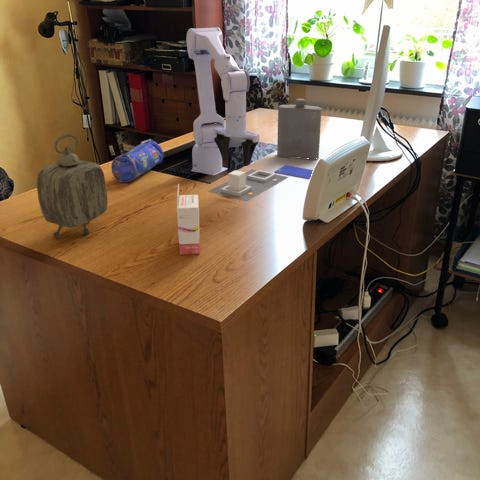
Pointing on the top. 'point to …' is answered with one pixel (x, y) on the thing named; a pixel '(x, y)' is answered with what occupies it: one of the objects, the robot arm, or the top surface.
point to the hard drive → (294, 171)
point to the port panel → (251, 185)
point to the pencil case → (137, 161)
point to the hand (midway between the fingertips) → (236, 162)
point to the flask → (298, 130)
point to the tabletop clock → (71, 190)
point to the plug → (237, 180)
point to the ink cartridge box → (188, 223)
